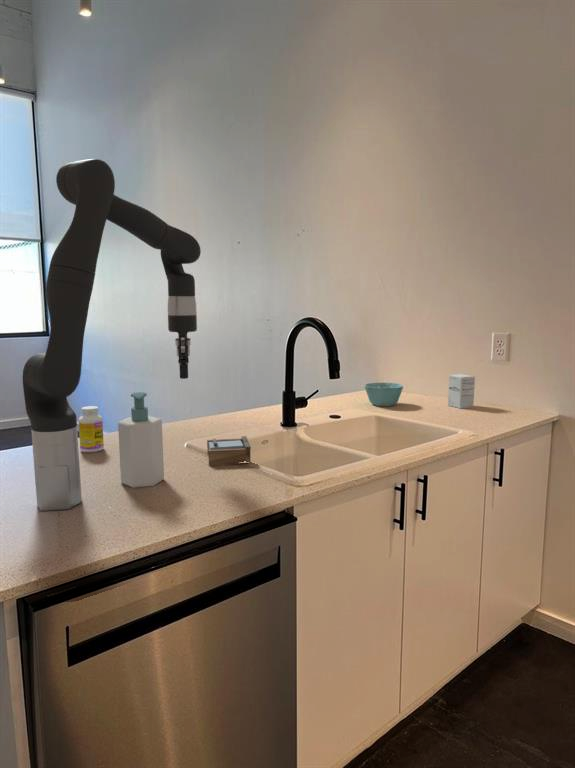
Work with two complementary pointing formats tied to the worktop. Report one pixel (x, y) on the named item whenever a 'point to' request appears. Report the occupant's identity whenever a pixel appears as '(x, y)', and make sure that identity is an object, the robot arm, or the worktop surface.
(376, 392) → the bowl
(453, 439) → the worktop surface
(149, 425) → the soap bottle
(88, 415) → the supplement bottle
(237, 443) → the blue slab with ledge
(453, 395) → the supplement box
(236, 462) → the bay
